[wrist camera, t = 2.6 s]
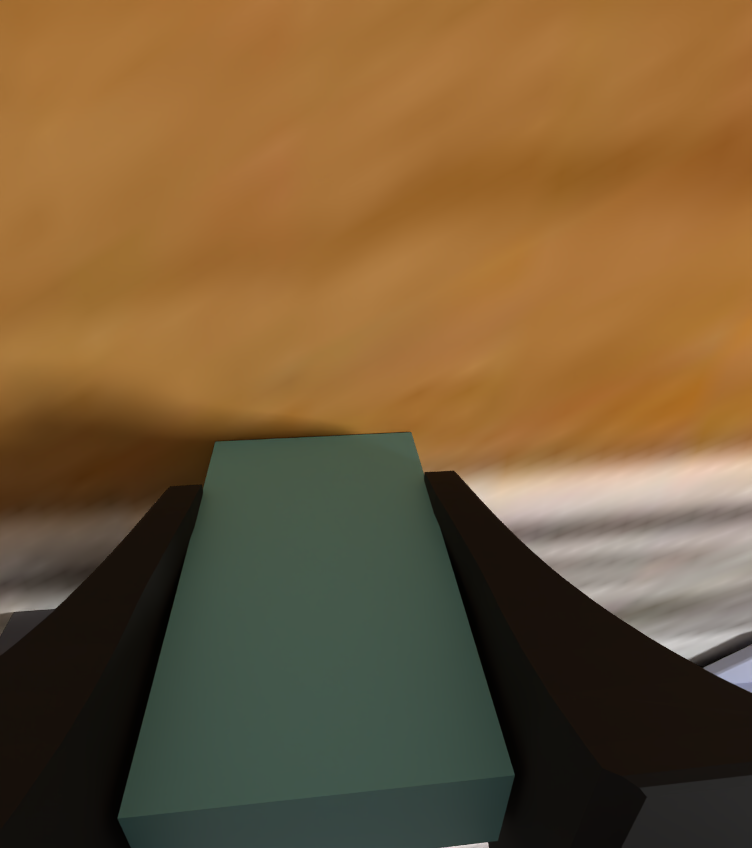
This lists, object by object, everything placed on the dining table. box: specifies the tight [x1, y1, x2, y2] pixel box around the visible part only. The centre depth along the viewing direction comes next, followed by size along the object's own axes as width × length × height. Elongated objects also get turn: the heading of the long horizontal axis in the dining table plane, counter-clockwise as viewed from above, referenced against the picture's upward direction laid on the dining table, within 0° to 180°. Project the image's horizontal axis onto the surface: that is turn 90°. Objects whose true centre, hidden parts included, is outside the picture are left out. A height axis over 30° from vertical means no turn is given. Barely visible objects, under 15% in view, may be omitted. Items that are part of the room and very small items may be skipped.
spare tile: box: [117, 432, 515, 848], centre depth 10 cm, size 2×4×8 cm, turn 90°
